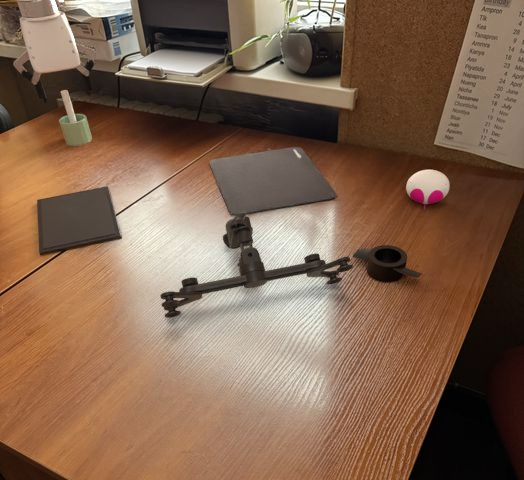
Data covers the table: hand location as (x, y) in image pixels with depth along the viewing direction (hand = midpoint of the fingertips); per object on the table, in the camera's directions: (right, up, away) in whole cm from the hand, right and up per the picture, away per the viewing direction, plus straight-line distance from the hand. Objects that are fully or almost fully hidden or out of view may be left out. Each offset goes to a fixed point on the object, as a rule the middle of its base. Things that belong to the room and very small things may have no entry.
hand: (67, 97), depth 114 cm
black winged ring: (+64, -45, -35) cm, 85 cm away
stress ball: (+74, -30, -21) cm, 83 cm away
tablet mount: (+42, -46, -34) cm, 71 cm away
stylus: (0, -7, +7) cm, 10 cm away
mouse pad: (+46, -22, -11) cm, 52 cm away
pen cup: (0, -7, +7) cm, 10 cm away
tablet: (+9, -33, -19) cm, 39 cm away
